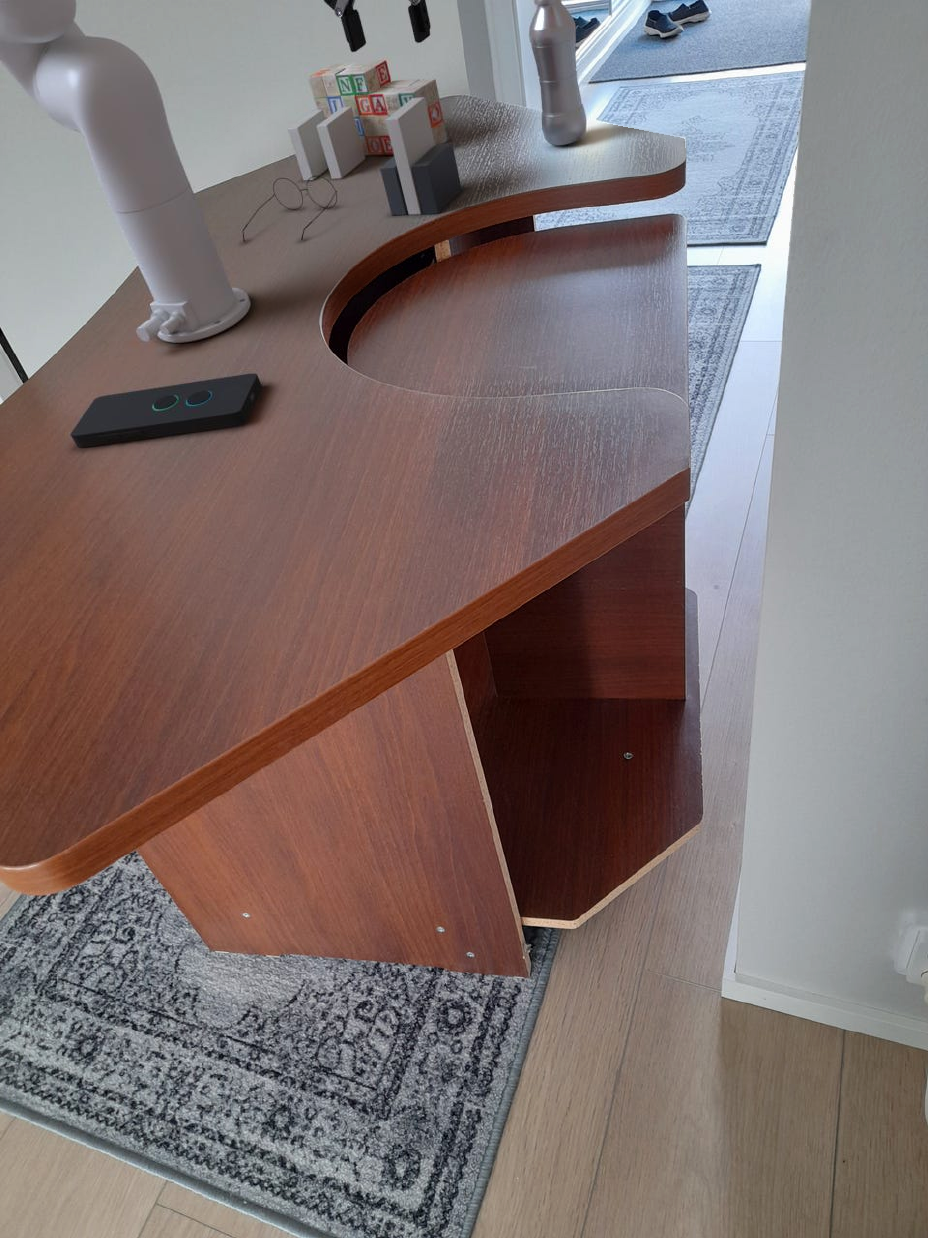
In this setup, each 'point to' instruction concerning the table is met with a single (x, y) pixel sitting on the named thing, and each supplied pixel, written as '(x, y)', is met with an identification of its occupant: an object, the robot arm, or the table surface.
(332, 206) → the eyeglasses
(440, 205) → the grey books
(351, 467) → the table surface
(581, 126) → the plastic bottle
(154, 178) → the robot arm
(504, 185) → the table surface
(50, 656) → the table surface
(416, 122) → the white book
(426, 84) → the stack of blocks
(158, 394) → the smart home device
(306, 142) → the white books
